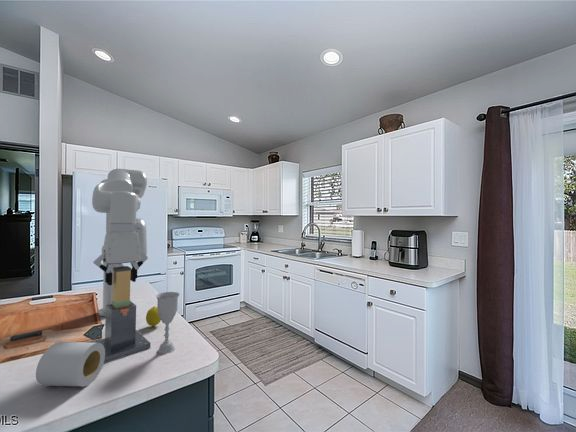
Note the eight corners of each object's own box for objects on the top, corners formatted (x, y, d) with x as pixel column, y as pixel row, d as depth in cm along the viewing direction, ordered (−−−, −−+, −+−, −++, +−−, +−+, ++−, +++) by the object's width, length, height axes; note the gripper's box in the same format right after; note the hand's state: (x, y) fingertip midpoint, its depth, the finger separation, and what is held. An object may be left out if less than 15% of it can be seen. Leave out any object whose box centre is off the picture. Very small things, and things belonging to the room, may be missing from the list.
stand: (89, 347, 88) (90, 304, 88) (136, 333, 98) (136, 296, 98) (100, 363, 79) (101, 316, 78) (150, 347, 89) (151, 305, 89)
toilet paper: (35, 394, 65) (36, 353, 65) (68, 370, 75) (69, 335, 75) (76, 395, 65) (77, 354, 65) (104, 371, 75) (105, 336, 75)
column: (111, 324, 88) (112, 267, 88) (125, 321, 91) (127, 265, 91) (114, 328, 85) (116, 269, 85) (129, 324, 88) (131, 267, 88)
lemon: (155, 330, 102) (155, 309, 101) (142, 329, 103) (142, 308, 103) (164, 324, 107) (165, 304, 107) (152, 323, 108) (152, 303, 108)
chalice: (182, 346, 90) (184, 293, 90) (167, 356, 83) (168, 299, 83) (165, 342, 92) (166, 291, 92) (149, 352, 86) (150, 296, 86)
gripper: (146, 227, 97) (145, 276, 97) (88, 228, 85) (87, 285, 85) (154, 228, 92) (153, 280, 92) (93, 229, 79) (92, 290, 79)
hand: (121, 282), depth 88 cm, fingers open, 6 cm apart
